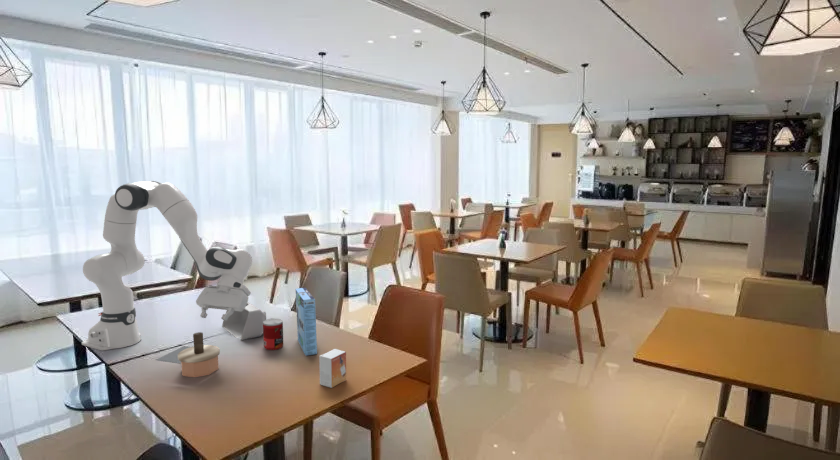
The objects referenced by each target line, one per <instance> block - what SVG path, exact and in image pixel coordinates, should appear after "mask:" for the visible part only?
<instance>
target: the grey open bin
mask: <svg viewBox="0 0 840 460" xmlns="http://www.w3.org/2000/svg"><path fill="white" fill-rule="evenodd" d="M227 312H228V310H225V314H226V313H227ZM265 320H267V312H266V311H265V310H261V309H260V308H259V307H257V306H255V305H253V304H252V303H251V302H249V301H248V302H247V305H246V307H245V309H244V310H243V311H241V312H240V311H234V312H233V314H232V315H230V316H229V317H228V319H227V320H223V319H222V325H221V327H222V328H223V329H224V330H225V331H227V332H228V333H229V334H230V335H232V336H233V337H234V338H236V339H240V341H244V340H250V339H255V338H259V337H261V336H262V335H263V321H265Z"/></svg>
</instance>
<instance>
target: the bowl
mask: <svg viewBox="0 0 840 460" xmlns="http://www.w3.org/2000/svg"><path fill="white" fill-rule="evenodd" d="M180 368H181V369H180V370H181V375H182V377H189V378H197V377H199V378H200V377H203V376H210V375H211V374H213V373H214V372H215V371H217V370H219V355H218V356H216V357H215V358H212V359H210V360H207V361H202V362H195V363H187V362H181V364H180Z"/></svg>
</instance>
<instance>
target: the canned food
mask: <svg viewBox="0 0 840 460" xmlns="http://www.w3.org/2000/svg"><path fill="white" fill-rule="evenodd" d="M283 323H284V322H283V319H280V318H269V319H266V320H265V321H263V333H262V335H263V337H262V338H263V347H264V349H265V350H266V351H267V350H268V351H277V350H280V349H282V348H283V347H284V324H283Z"/></svg>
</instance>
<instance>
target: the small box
mask: <svg viewBox="0 0 840 460" xmlns="http://www.w3.org/2000/svg"><path fill="white" fill-rule="evenodd" d="M318 358H319V362H318V363H319V385H321V386H324V387H327V388H332V389H333V388H334V387H335V386H337V385H340V384H341V383H343V382H345V381H346V380H347V352H346V351H344V350H340V349H338V348H333V349H332V350H329V351H328V352H325V353H322V354H320V355H319V357H318Z"/></svg>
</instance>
